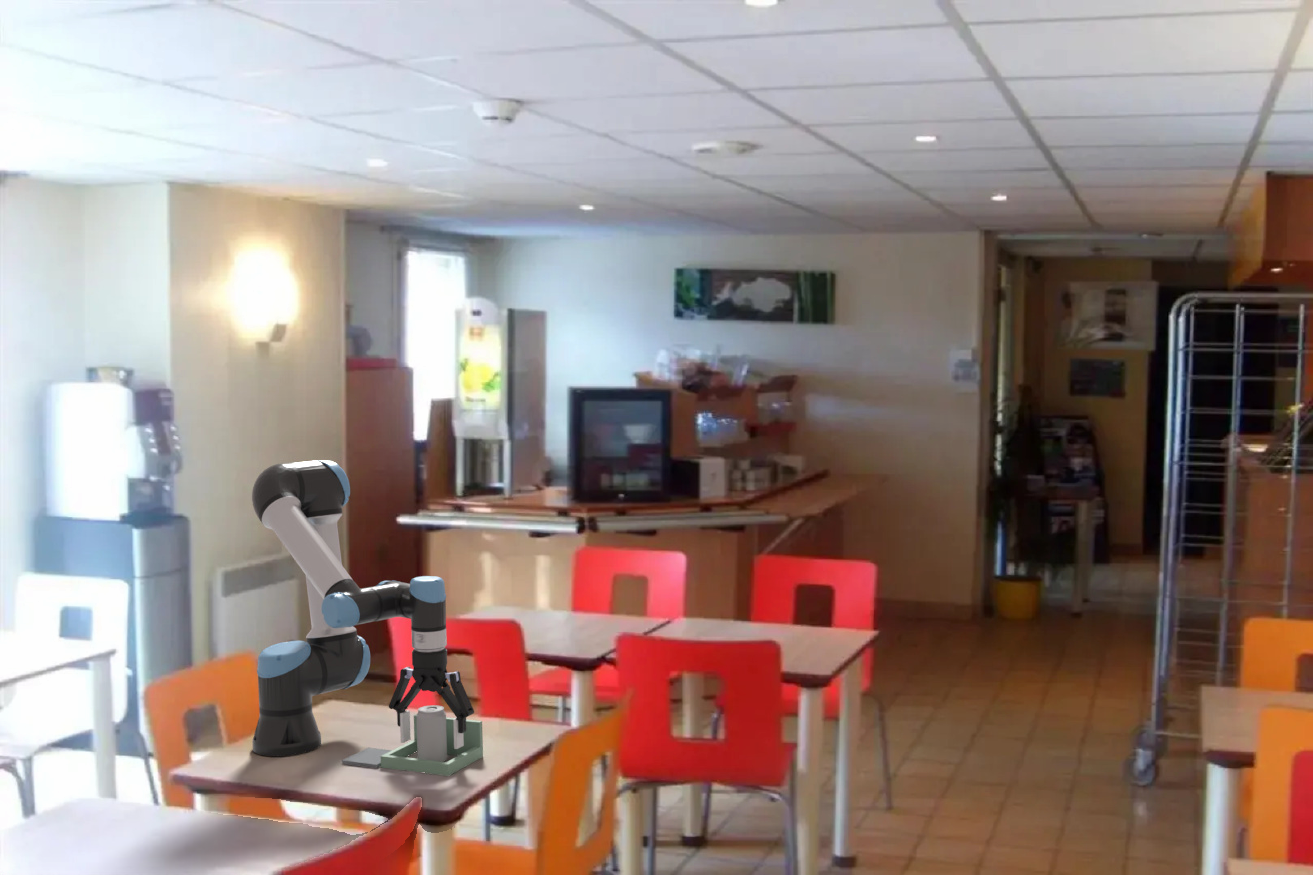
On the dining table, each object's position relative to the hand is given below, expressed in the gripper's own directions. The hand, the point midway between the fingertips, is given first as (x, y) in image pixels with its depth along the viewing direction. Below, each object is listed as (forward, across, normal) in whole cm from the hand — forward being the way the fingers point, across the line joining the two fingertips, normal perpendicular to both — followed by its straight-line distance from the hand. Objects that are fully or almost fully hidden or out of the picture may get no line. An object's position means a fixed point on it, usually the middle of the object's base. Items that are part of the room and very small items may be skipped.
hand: (432, 744), depth 295 cm
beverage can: (+4, 0, 0) cm, 4 cm away
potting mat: (+4, -14, -3) cm, 14 cm away
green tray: (+4, 0, 0) cm, 4 cm away
